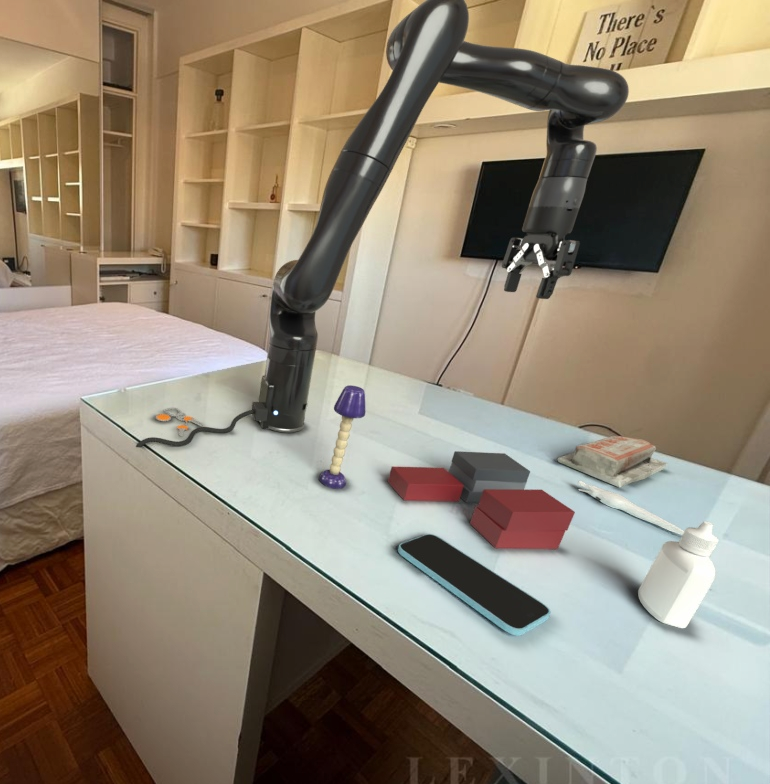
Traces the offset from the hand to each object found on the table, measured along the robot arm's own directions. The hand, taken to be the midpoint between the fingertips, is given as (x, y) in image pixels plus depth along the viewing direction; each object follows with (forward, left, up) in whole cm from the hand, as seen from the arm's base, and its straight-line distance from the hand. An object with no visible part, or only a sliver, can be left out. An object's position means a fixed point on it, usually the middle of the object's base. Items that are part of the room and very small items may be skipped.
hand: (525, 295), depth 89 cm
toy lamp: (-42, -23, -30) cm, 56 cm away
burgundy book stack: (-21, -36, -29) cm, 51 cm away
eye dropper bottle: (-13, -49, -30) cm, 59 cm away
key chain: (-67, -1, -29) cm, 73 cm away
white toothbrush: (+3, -30, -30) cm, 42 cm away
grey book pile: (-18, -25, -29) cm, 43 cm away
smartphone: (-34, -45, -29) cm, 64 cm away
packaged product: (+15, -15, -30) cm, 36 cm away
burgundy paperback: (-28, -25, -29) cm, 48 cm away
